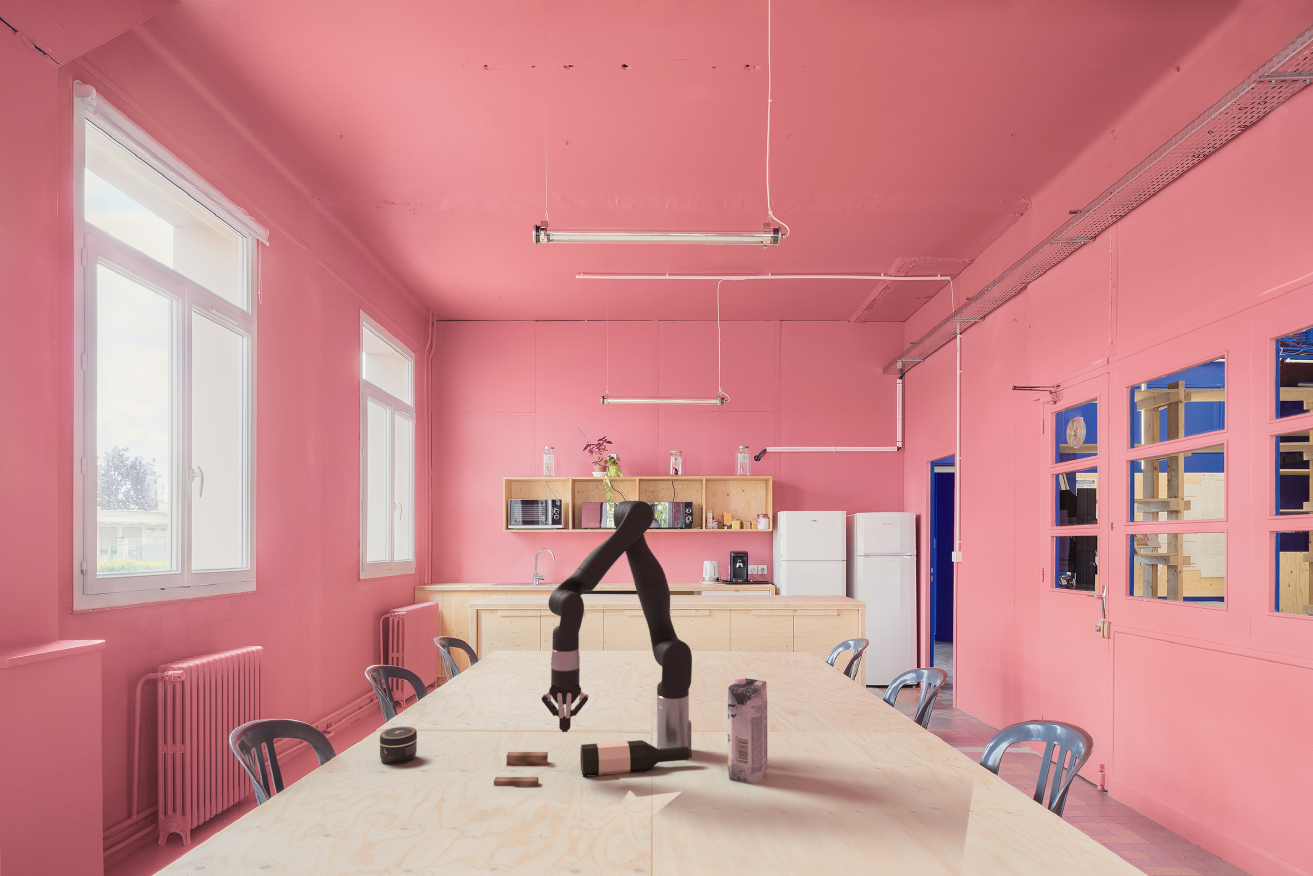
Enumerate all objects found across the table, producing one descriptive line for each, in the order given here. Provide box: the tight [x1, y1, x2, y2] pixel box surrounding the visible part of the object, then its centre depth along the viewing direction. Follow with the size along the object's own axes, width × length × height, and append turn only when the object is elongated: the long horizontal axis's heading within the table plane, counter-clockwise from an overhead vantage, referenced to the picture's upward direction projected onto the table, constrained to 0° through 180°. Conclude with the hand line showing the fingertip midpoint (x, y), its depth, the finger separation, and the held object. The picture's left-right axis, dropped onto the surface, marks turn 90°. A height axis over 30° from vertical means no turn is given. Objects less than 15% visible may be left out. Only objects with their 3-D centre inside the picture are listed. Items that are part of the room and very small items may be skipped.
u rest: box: [493, 751, 549, 787], centre depth 201 cm, size 11×19×3 cm, turn 0°
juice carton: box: [727, 675, 768, 785], centre depth 198 cm, size 9×10×27 cm
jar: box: [379, 726, 418, 765], centre depth 213 cm, size 10×10×8 cm
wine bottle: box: [579, 739, 693, 777], centre depth 205 cm, size 8×8×30 cm
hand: (564, 731), depth 201 cm, fingers closed
